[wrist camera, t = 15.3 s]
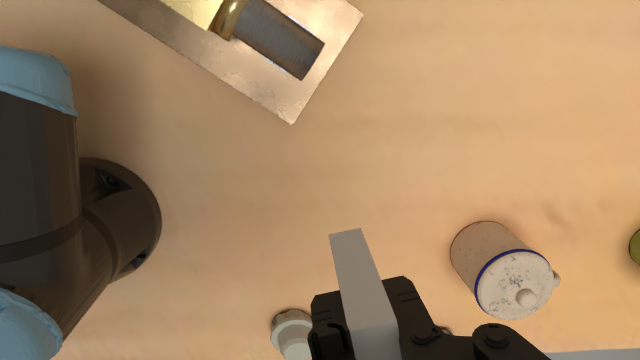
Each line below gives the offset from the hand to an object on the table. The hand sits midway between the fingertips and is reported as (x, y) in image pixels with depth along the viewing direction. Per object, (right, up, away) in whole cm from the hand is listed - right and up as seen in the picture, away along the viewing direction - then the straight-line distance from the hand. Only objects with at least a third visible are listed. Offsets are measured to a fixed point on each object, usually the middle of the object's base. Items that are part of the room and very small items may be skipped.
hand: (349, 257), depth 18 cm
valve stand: (-13, +24, +23) cm, 36 cm away
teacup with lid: (+22, -6, +36) cm, 42 cm away
